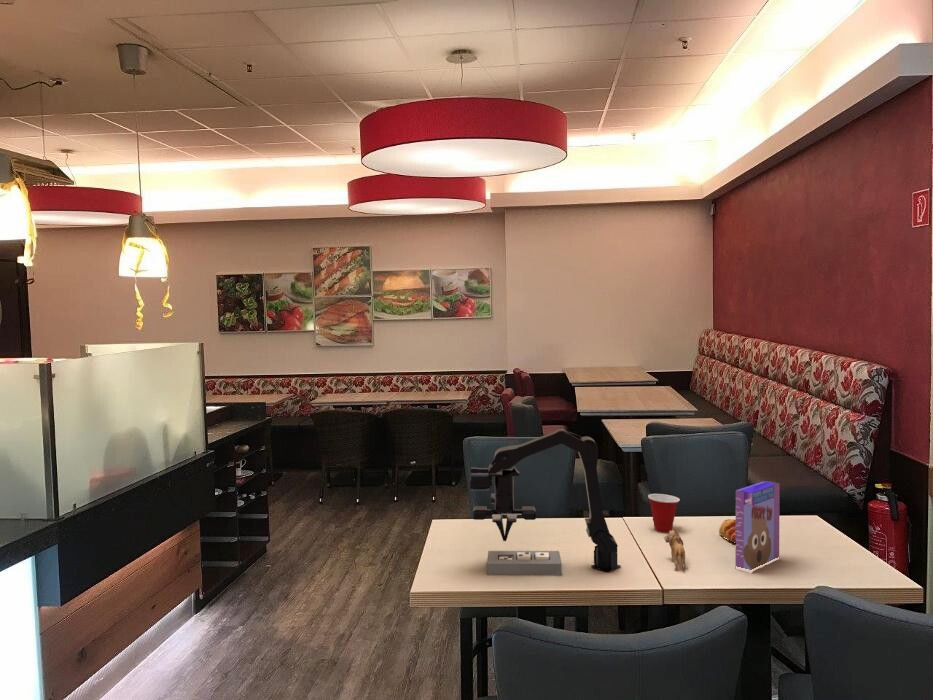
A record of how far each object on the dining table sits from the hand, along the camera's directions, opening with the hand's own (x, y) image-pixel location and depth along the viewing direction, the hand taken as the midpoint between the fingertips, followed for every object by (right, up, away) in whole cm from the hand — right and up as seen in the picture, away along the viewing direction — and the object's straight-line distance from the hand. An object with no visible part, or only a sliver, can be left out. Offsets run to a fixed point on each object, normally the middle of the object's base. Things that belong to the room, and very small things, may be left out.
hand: (504, 540), depth 232 cm
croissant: (+79, -6, +27) cm, 84 cm away
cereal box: (+77, -7, 0) cm, 77 cm away
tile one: (+11, -6, 0) cm, 13 cm away
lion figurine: (+52, -8, +1) cm, 53 cm away
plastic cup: (+58, -6, +36) cm, 69 cm away
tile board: (+6, -8, 0) cm, 10 cm away
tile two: (+6, -6, 0) cm, 8 cm away
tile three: (0, -7, 0) cm, 7 cm away
